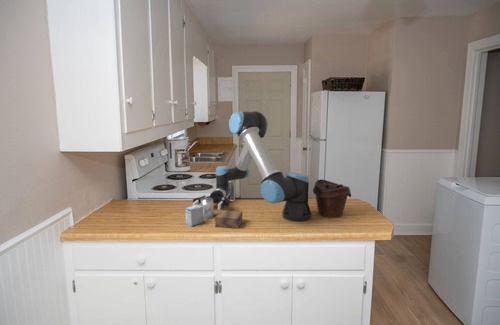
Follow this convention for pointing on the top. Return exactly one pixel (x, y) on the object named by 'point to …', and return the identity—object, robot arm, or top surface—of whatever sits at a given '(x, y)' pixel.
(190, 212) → the medicine box
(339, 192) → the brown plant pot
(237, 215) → the walnut block
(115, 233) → the top surface
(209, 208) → the food tin
